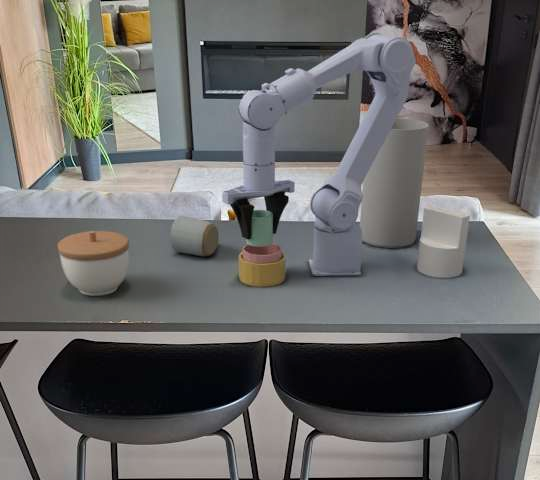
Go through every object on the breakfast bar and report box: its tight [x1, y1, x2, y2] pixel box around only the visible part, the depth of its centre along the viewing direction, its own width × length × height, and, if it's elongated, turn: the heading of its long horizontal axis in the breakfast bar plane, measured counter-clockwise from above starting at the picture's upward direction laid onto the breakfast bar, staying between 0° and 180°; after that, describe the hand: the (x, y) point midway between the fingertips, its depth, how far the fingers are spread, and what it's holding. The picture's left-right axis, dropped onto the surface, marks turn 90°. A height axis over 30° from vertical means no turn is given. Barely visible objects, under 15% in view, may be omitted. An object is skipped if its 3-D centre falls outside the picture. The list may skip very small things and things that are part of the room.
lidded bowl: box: [57, 230, 130, 297], centre depth 130 cm, size 13×13×11 cm
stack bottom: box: [238, 251, 287, 288], centre depth 137 cm, size 9×9×4 cm
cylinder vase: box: [359, 117, 429, 249], centre depth 152 cm, size 12×12×25 cm
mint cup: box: [245, 209, 274, 247], centre depth 133 cm, size 5×5×6 cm
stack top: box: [242, 242, 283, 264], centre depth 137 cm, size 8×8×6 cm
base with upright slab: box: [416, 204, 471, 279], centre depth 140 cm, size 9×9×12 cm
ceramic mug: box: [169, 215, 219, 257], centre depth 149 cm, size 11×8×8 cm
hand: (259, 234), depth 134 cm, fingers closed on mint cup, 5 cm apart
